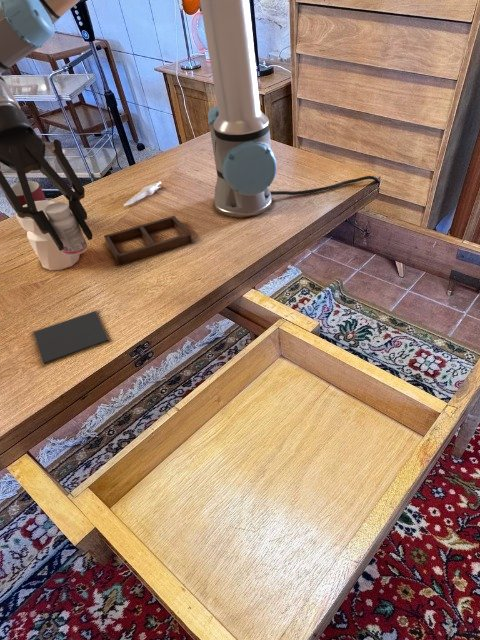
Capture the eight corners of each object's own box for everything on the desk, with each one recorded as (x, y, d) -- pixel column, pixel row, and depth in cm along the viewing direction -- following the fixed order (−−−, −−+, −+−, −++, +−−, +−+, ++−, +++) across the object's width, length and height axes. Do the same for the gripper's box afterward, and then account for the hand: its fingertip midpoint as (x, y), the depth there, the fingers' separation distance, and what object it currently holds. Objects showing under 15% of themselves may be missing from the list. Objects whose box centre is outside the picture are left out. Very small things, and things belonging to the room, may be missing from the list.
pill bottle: (57, 250, 85) (37, 208, 79) (79, 240, 88) (61, 198, 81) (70, 259, 83) (50, 216, 77) (92, 248, 85) (75, 206, 79)
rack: (176, 222, 113) (174, 215, 112) (192, 242, 107) (190, 234, 106) (106, 243, 108) (103, 235, 106) (119, 265, 101) (116, 257, 100)
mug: (10, 229, 112) (-12, 190, 105) (35, 215, 117) (16, 176, 109) (40, 238, 109) (20, 198, 102) (64, 223, 114) (47, 184, 106)
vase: (36, 271, 100) (8, 221, 91) (48, 249, 106) (23, 200, 97) (74, 269, 100) (50, 219, 91) (85, 248, 106) (63, 199, 97)
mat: (95, 312, 91) (95, 311, 90) (108, 340, 85) (108, 339, 85) (34, 333, 87) (33, 331, 86) (44, 364, 81) (43, 362, 81)
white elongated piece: (158, 185, 127) (156, 178, 125) (165, 187, 126) (163, 180, 125) (120, 207, 119) (118, 200, 117) (127, 210, 118) (125, 203, 116)
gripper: (52, 117, 83) (119, 233, 88) (-50, 143, 76) (29, 267, 81) (50, 91, 77) (122, 217, 81) (-62, 116, 69) (24, 253, 74)
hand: (76, 242), depth 81 cm, fingers closed on pill bottle, 5 cm apart
